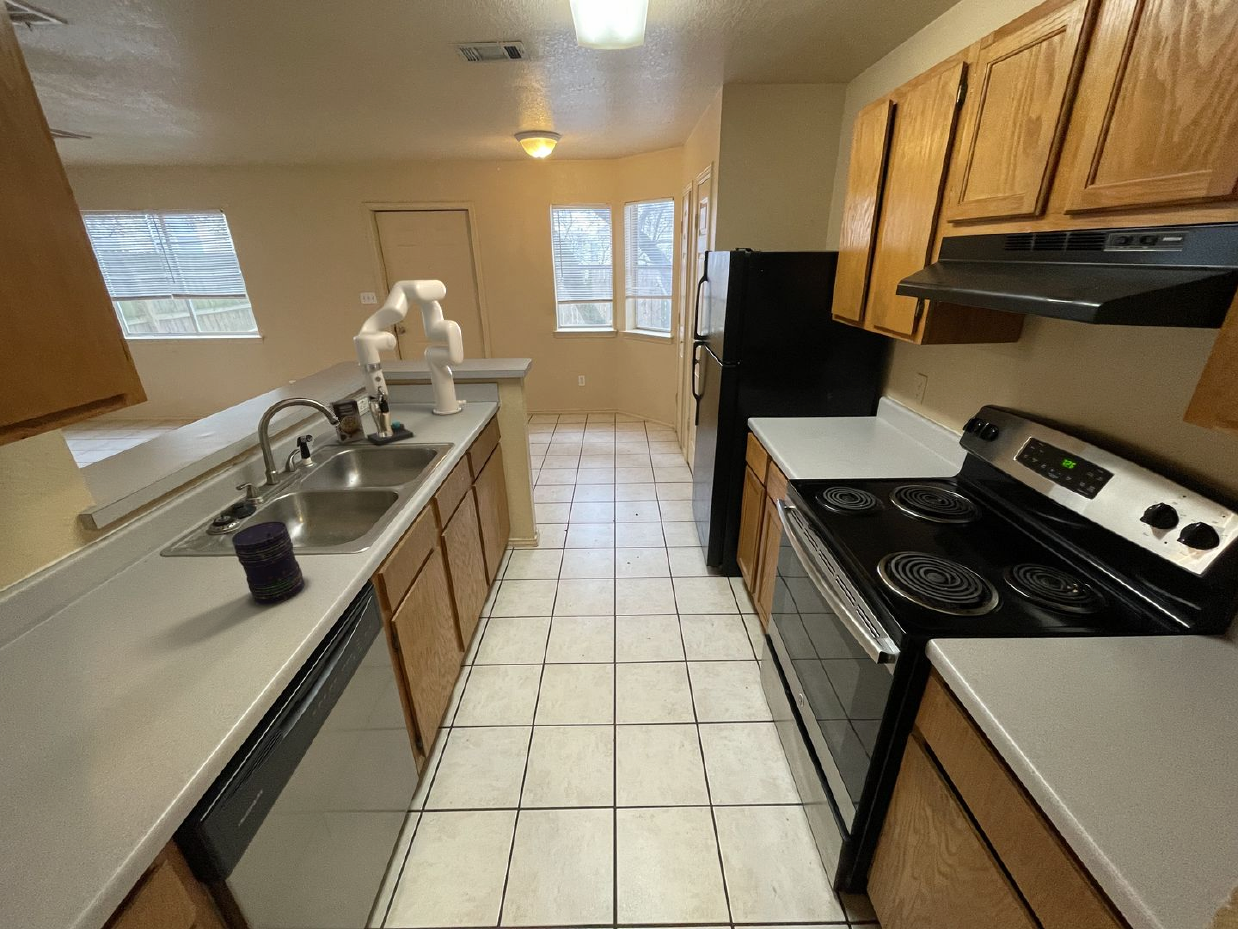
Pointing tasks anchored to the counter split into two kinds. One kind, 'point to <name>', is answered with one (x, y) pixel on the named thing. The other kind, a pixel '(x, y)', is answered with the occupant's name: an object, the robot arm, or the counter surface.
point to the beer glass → (381, 420)
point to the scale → (398, 435)
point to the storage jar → (269, 562)
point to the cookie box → (348, 420)
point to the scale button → (396, 424)
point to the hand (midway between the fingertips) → (380, 410)
